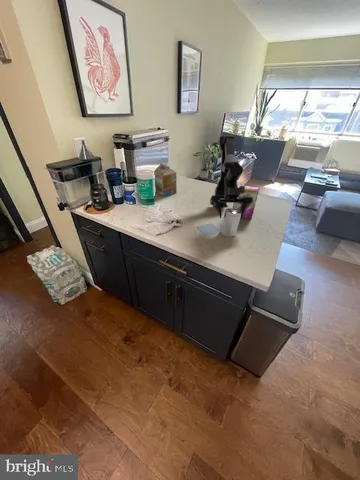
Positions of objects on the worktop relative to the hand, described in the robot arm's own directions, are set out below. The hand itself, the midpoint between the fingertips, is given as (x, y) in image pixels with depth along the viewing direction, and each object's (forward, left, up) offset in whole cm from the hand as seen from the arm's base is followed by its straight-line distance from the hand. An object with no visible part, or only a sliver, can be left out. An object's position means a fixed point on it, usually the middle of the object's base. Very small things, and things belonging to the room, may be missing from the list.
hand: (230, 218), depth 90 cm
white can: (0, 0, -8) cm, 8 cm away
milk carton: (+12, -60, -9) cm, 61 cm away
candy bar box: (-17, -13, -9) cm, 23 cm away
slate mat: (+7, -6, -8) cm, 13 cm away
